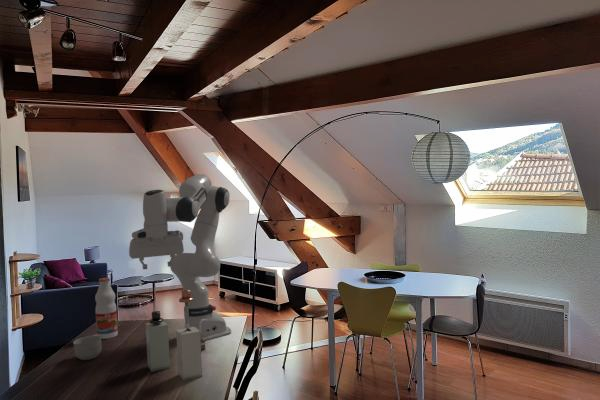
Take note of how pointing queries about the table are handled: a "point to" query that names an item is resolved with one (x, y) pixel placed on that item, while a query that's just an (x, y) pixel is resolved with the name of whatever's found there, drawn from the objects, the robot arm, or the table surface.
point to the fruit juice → (106, 310)
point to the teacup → (87, 347)
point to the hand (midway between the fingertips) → (157, 267)
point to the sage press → (157, 346)
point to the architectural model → (202, 341)
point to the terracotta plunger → (186, 305)
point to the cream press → (189, 353)
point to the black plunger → (156, 318)
